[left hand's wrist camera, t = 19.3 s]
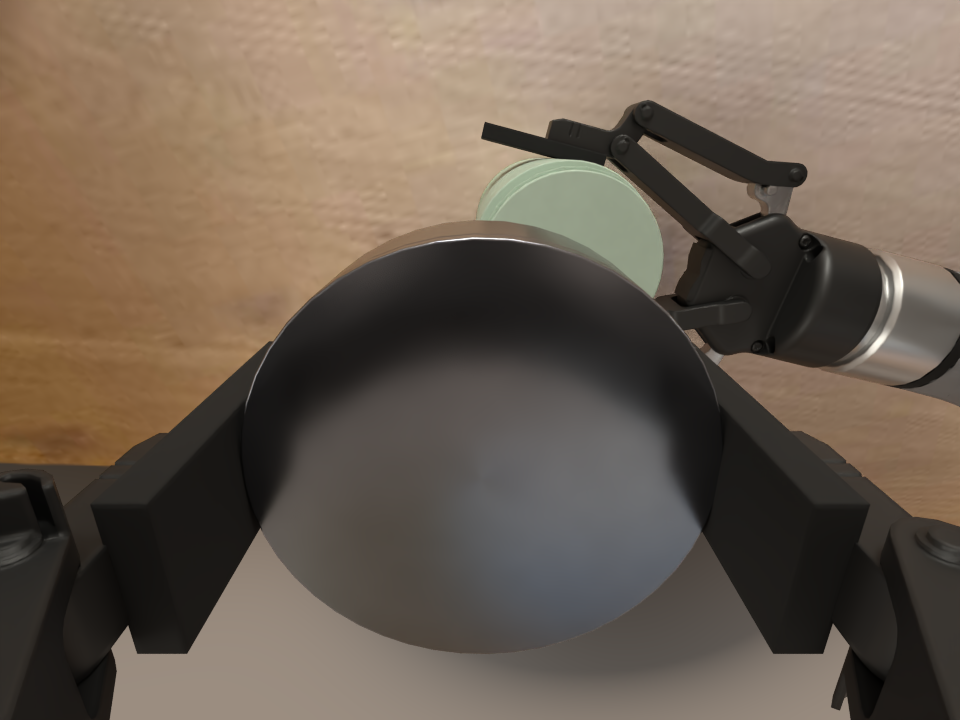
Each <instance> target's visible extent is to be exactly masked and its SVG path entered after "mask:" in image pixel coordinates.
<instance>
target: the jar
mask: <svg viewBox="0 0 960 720" xmlns="http://www.w3.org/2000/svg"><path fill="white" fill-rule="evenodd" d="M476 220H487V221H507V222H513V223H519V224H524V225H530V226H535V227H538V228H542V229H545V230H548V231H551V232H554V233H557V234H561V235H563V236H565V237H567V238H570V239H572V240H574V241H576V242H578V243H580V244H582V245H584V246H586V247H588V248H590V249H592V250H593V251H595V252H596V253H598V254H599V255H601V256H602V257H604V258H605V259H607V260H608V261H610V262H611V263H613V264H614V265H615V266H616V267H617V268H618V269H620V270H621V271H622V272H623V273H624V274H625V275H627V276H628V277H629V278H630V279H631V280H632V281H633V282H635V283H636V284H637V285H638V286H639V287H640V288H642V289H643V290H644V291H645V292H646V293H647V294H648V295H650V296H651V297H652V298H654V296H655V294H656V291H657V289H658V286H659V283H660V280H661V275H662V269H663V256H664V254H663V242H662V238H661V233H660V230H659V227H658V224H657V222H656V219H655V217H654V216H653V214H652V212H651V210H650V208H649V206H648V204H647V203H646V202H645V201H644V200H643V198H642V197H641V196H640V194H639V193H638V192H637V190H636V189H635V188H634V187H633V186H632V185H631V184H630V183H629V182H628V181H627V180H625V179H624V178H623V177H621V176H620V175H619V174H617V173H616V172H614V171H612V170H610V169H608V168H606V167H604V166H601V165H598V164H595V163H591V162H587V161H582V160H567V159H547V158H533V159H526V160H522V161H519V162H516V163H514V164H512V165H510V166H508V167H506V168H505V169H503V170H502V171H501V172H499V173H498V174H497V175H496V176H495V177H494V178H493V179H492V180H491V182H490V183H489V184H488V186H487V187H486V189H485V190H484V192H483V194H482V197H481V199H480V202H479V205H478V210H477V215H476Z"/></svg>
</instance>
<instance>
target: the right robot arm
mask: <svg viewBox="0 0 960 720" xmlns="http://www.w3.org/2000/svg"><path fill="white" fill-rule="evenodd" d="M642 135H645V136H647V137H649V138H651V139H653V140H654V141H656V142H658V143H660V144H662V145H664V146H666V147H668V148H670V149H672V150H674V151H676V152H678V153H680V154H682V155H684V156H686V157H688V158H690V159H692V160H694V161H696V162H698V163H700V164H702V165H704V166H706V167H708V168H710V169H712V170H714V171H715V172H717V173H719V174H721V175H723V176H725V177H727V178H730V179H732V180H735V181H738V182H742V183H748V186H747V193H748V195H749V197H751V198H752V199H755V200H757V201H758V202H759V203H760V205H761V212H760V213H757V214H754V215H752V216H749V217H747V218H744V219H741V220H739V221H736V222H734V223H731V224H728V223H727V222H726V221H725V220H724V219H723V218H721V217H720V216H718V215H716V214H715V213H714V212H712V211H711V210H710V209H709V208H708V207H707V206H706V205H705V204H704V203H702V202H701V201H700V200H699V199H698V198H697V197H696V196H695V195H694V194H693V193H691V192H690V191H689V190H688V189H687V188H686V187H685V186H684V185H683V184H682V183H680V182H679V181H678V180H677V179H676V178H675V177H674V176H673V175H672V174H671V173H669V172H668V171H667V170H666V169H665V168H664V167H663V166H662V165H661V164H659V163H658V162H657V161H656V160H655V159H654V158H653V157H652V156H651V155H650V154H648V153H647V152H646V151H645V150H644V149H643V148H642V147H641V146H640V145H639V144H637V142H638V141H639V140H640V138H641V137H642ZM481 139H483V140H487V141H491V142H495V143H498V144H502V145H506V146H510V147H513V148H517V149H521V150H525V151H528V152H532V153H536V154H540V155H543V156H547V157H551V158H555V159H567V160H582V161H587V162H591V163H595V164H598V165H601V166H604V164H605V160H606V158H607V159H608V160H609V161H610V162H611V163H612V164H613V165H615V166H616V167H617V168H618V169H619V170H620V171H621V172H622V173H624V174H625V175H626V176H627V177H628V178H629V179H630V180H632V181H633V182H634V183H635V184H636V185H637V186H638V187H639V188H641V189H642V190H643V191H644V192H645V193H646V194H647V195H648V196H650V197H651V198H652V199H653V200H654V201H655V202H656V203H658V204H659V205H660V206H661V207H662V208H663V209H664V210H665V211H667V212H668V213H669V214H670V215H671V216H672V217H673V218H674V219H676V220H677V221H678V222H679V223H680V224H681V225H682V226H683V228H684V229H685V230H686V231H687V232H689V233H690V234H691V235H692V236H693V237H694V238H695V239H696V240H698V242H697V243H694V242H693V245H692V248H691V250H690V253H689V257H688V265H687V269H686V271H685V272H684V274H683V275H682V277H681V278H680V280H679V282H678V284H677V287H676V289H675V293H676V294H671V295H665V296H660V297H657V298H656V299H654V300H655V301H656V302H657V303H659V304H660V305H661V306H662V307H663V308H664V309H665V310H666V311H667V312H668V313H669V314H670V315H671V316H672V318H673V319H674V320H675V321H676V322H677V324H678V325H679V326H680V327H681V328H682V329H683V330H689V329H695V330H696V331H697V333H698V334H699V336H700V337H701V338H702V340H703V341H704V342H705V345H704V346H703V347H702V348H700V350H701V351H702V352H703V353H704V354H706V355H707V356H708V357H709V358H710V359H711V360H712V361H713V362H714V363H716V364H717V365H718V364H719V363H720V361H721V360H722V358H723V356H724V355H733V354H737V353H745V352H747V353H753V354H757V355H761V356H765V357H769V358H773V359H777V360H781V361H785V362H790V363H794V364H798V365H802V366H806V367H812V368H819V369H821V370H823V371H827V372H831V373H835V374H839V375H844V376H848V377H852V378H856V379H861V380H865V381H869V382H874V383H878V384H882V385H887V386H891V387H895V388H900V389H904V390H908V391H912V392H915V393H919V394H923V395H927V396H930V397H934V398H938V399H941V400H944V401H947V402H950V403H952V404H955V405H957V406H959V407H960V272H956V271H953V270H950V269H947V268H944V267H941V266H940V265H936V264H932V263H928V262H925V261H921V260H917V259H913V258H909V257H906V256H902V255H898V254H894V253H890V252H887V251H883V250H879V249H868V248H866V247H864V246H862V245H859V244H856V243H852V242H848V241H845V240H841V239H837V238H833V237H829V236H826V235H822V234H818V233H814V232H811V231H807V230H803V229H801V228H799V227H797V226H796V225H795V224H794V223H793V221H792V220H791V219H790V218H789V217H788V216H786V213H787V209H788V205H789V202H790V198H791V194H792V190H793V187H798V186H800V185H801V184H802V183H803V182H804V181H805V180H806V177H807V169H806V167H805V166H804V165H803V164H800V163H789V162H776V161H767V160H765V159H763V158H761V157H759V156H757V155H755V154H753V153H751V152H749V151H747V150H745V149H744V148H742V147H740V146H738V145H736V144H734V143H732V142H730V141H728V140H726V139H724V138H722V137H720V136H718V135H717V134H715V133H713V132H711V131H709V130H707V129H705V128H703V127H701V126H699V125H697V124H695V123H693V122H692V121H690V120H688V119H686V118H684V117H682V116H680V115H678V114H676V113H674V112H672V111H670V110H668V109H667V108H665V107H663V106H661V105H659V104H657V103H655V102H653V101H650V100H646V101H642V102H639V103H636V104H633V105H631V106H629V107H628V108H627V109H626V110H625V112H624V115H623V117H622V118H621V120H620V121H619V122H618V124H617V125H616V126H615V127H614V128H613V129H612V130H610V131H608V130H604V129H600V128H596V127H593V126H589V125H585V124H581V123H578V122H574V121H571V120H567V119H557V120H552V121H550V122H549V126H548V130H547V134H546V137H545V138H543V137H539V136H535V135H531V134H528V133H524V132H520V131H517V130H513V129H509V128H505V127H502V126H498V125H494V124H491V123H487V122H485V124H484V128H483V132H482V137H481Z"/></svg>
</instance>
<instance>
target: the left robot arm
mask: <svg viewBox="0 0 960 720" xmlns="http://www.w3.org/2000/svg"><path fill="white" fill-rule="evenodd" d="M272 342H273V341H269V342H268V343H267V344H266V345H265V346H264V347H262V348H261V349H260V350H259V351H258V352H257V353H256V354H255V355H254V356H253V357H251V358H250V359H249V360H248V361H247V362H246V363H245V364H244V365H243V366H242V367H240V368H239V369H238V370H237V371H236V372H235V373H234V374H233V375H232V376H231V377H229V378H228V379H227V380H226V381H225V382H224V383H223V384H222V385H221V386H220V387H218V388H217V389H216V390H215V391H214V392H213V393H212V394H211V395H210V396H209V397H207V398H206V399H205V400H204V401H203V402H202V403H201V404H200V405H199V406H198V407H196V408H195V409H194V410H193V411H192V412H191V413H190V414H189V415H188V416H187V417H185V418H184V419H183V420H182V421H181V422H180V423H179V424H178V425H177V426H176V427H174V428H173V429H172V430H171V431H170V432H169V433H159V434H157V435H155V436H153V437H151V438H149V439H147V440H145V441H143V442H141V443H139V444H137V445H136V446H134V447H132V448H131V449H130V450H129V451H128V452H127V453H125V454H124V455H123V456H122V457H121V458H120V459H118V460H117V461H116V462H115V465H111V466H110V467H109V468H108V469H107V470H106V471H104V472H103V473H102V474H101V475H100V478H99V479H95V480H94V481H93V482H91V483H90V484H89V485H88V486H87V487H86V488H85V489H83V490H82V491H81V492H80V493H79V494H77V495H76V496H75V497H74V498H73V499H72V500H71V501H69V502H68V503H67V504H66V505H65V506H63V505H62V503H61V499H60V496H59V493H58V490H57V488H56V485H55V482H54V479H53V476H52V475H51V474H49V473H47V472H46V471H44V470H35V469H21V470H13V471H5V472H1V473H0V720H110V713H111V706H112V699H113V692H114V686H115V679H116V672H117V670H116V664H115V659H114V656H113V653H112V650H111V647H112V646H113V645H114V643H115V642H116V641H117V639H118V638H119V637H120V635H121V634H122V633H123V631H124V630H125V629H126V627H127V626H129V629H130V632H131V635H132V638H133V642H134V645H135V648H136V651H137V654H187V653H188V651H189V650H190V648H191V646H192V644H193V643H194V641H195V639H196V637H197V636H198V634H199V632H200V631H201V629H202V627H203V625H204V624H205V622H206V620H207V619H208V617H209V615H210V613H211V612H212V610H213V608H214V606H215V605H216V603H217V601H218V600H219V598H220V596H221V594H222V593H223V591H224V589H225V588H226V586H227V584H228V582H229V581H230V579H231V577H232V575H233V574H234V572H235V570H236V569H237V567H238V565H239V563H240V562H241V560H242V558H243V557H244V555H245V553H246V551H247V550H248V548H249V546H250V545H251V543H252V541H253V539H254V538H255V536H256V534H257V533H258V531H259V529H260V526H259V524H258V521H257V519H256V517H255V515H254V513H253V510H252V507H251V504H250V500H249V497H248V494H247V490H246V487H245V482H244V475H243V468H242V461H241V429H242V423H243V417H244V410H245V404H246V400H247V397H248V394H249V391H250V388H251V385H252V382H253V379H254V376H255V373H256V371H257V370H258V368H259V366H260V364H261V362H262V360H263V358H264V356H265V354H266V352H267V350H268V348H269V347H270V345H271V344H272ZM692 344H693V343H692ZM693 345H694V347H695V349H696V350H697V352H698V354H699V355H700V357H701V359H702V360H703V362H704V364H705V367H706V369H707V372H708V374H709V376H710V379H711V381H712V384H713V386H714V389H715V392H716V396H717V401H718V405H719V409H720V413H721V418H722V431H723V445H724V447H723V454H722V460H721V466H720V471H719V476H718V481H717V487H716V492H715V497H714V502H713V506H712V510H711V512H710V515H709V517H708V520H707V522H706V525H705V527H704V528H703V530H702V532H703V534H704V535H705V537H706V539H707V540H708V542H709V544H710V546H711V547H712V549H713V551H714V552H715V554H716V556H717V558H718V559H719V561H720V563H721V565H722V566H723V568H724V570H725V571H726V573H727V575H728V577H729V578H730V580H731V582H732V584H733V585H734V587H735V589H736V590H737V592H738V594H739V596H740V597H741V599H742V601H743V602H744V604H745V606H746V608H747V609H748V611H749V613H750V614H751V616H752V618H753V620H754V621H755V623H756V625H757V626H758V628H759V630H760V632H761V633H762V635H763V637H764V639H765V640H766V642H767V644H768V645H769V647H770V649H771V651H772V652H773V654H823V652H824V649H825V646H826V643H827V640H828V637H829V634H830V630H831V627H832V624H834V625H835V626H836V628H837V629H838V630H839V632H840V633H841V635H842V636H843V637H844V639H845V640H846V641H847V643H848V644H849V645H850V647H849V650H848V653H847V656H846V659H845V662H844V665H843V668H842V671H841V674H840V677H839V680H838V682H837V685H836V689H835V691H834V694H833V699H832V705H831V707H832V708H834V709H837V710H840V709H841V706H842V703H843V700H844V698H845V697H847V698H848V704H849V711H850V718H851V720H960V527H959V526H955V525H952V524H949V523H946V522H942V521H939V520H934V519H927V518H920V517H912V516H911V515H910V514H909V513H907V512H906V511H905V510H904V509H903V508H901V507H900V506H899V505H898V504H897V503H896V502H894V501H893V500H892V499H891V498H890V497H888V496H887V495H886V494H885V493H884V492H883V491H881V490H880V489H879V488H878V487H877V486H876V485H874V484H873V483H872V482H871V481H870V480H868V479H867V478H866V477H862V476H861V473H860V472H859V471H858V470H857V469H856V468H854V467H853V466H852V465H851V464H846V460H845V459H844V458H843V457H841V456H840V455H839V454H838V453H837V452H836V451H834V450H833V449H832V448H831V447H830V446H828V445H827V444H825V443H823V442H821V441H819V440H817V439H815V438H813V437H811V436H809V435H808V434H806V433H804V432H802V431H789V430H788V429H787V428H786V427H785V426H784V425H783V424H782V423H780V422H779V421H778V420H777V419H776V418H775V417H774V416H773V415H772V414H771V413H769V412H768V411H767V410H766V409H765V408H764V407H763V406H762V405H761V404H760V403H758V402H757V401H756V400H755V399H754V398H753V397H752V396H751V395H750V394H749V393H747V392H746V391H745V390H744V389H743V388H742V387H741V386H740V385H739V384H738V383H736V382H735V381H734V380H733V379H732V378H731V377H730V376H729V375H728V374H727V373H725V372H724V371H723V370H722V369H721V368H720V367H719V366H718V365H717V364H716V363H714V362H713V361H712V360H711V359H710V358H709V357H708V356H707V355H706V354H704V353H703V352H702V351H701V350H700V349H699V348H698V347H697V346H696V345H695V344H693Z"/></svg>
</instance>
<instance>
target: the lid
mask: <svg viewBox="0 0 960 720" xmlns="http://www.w3.org/2000/svg"><path fill="white" fill-rule="evenodd" d="M723 447H724V445H723V431H722V418H721V413H720V409H719V405H718V401H717V396H716V392H715V389H714V386H713V384H712V381H711V379H710V376H709V374H708V372H707V369H706V367H705V364H704V362H703V360H702V359H701V357H700V355H699V354H698V352H697V350H696V349H695V347H694V345H693V344H692V342H691V340H690V339H689V337H688V335H687V334H686V333H685V332H684V331H683V329H682V328H681V327H680V326H679V325H678V324H677V322H676V321H675V320H674V319H673V318H672V316H671V315H670V314H669V313H668V312H667V311H666V310H665V309H664V308H663V307H662V306H661V305H660V304H659V303H657V302H656V301H655V300H654V299H653V298H652V297H651V296H650V295H648V294H647V293H646V292H645V291H644V290H643V289H642V288H640V287H639V286H638V285H637V284H636V283H635V282H633V281H632V280H631V279H630V278H629V277H628V276H627V275H625V274H624V273H623V272H622V271H621V270H620V269H618V268H617V267H616V266H615V265H614V264H613V263H611V262H610V261H608V260H607V259H605V258H604V257H602V256H601V255H599V254H598V253H596V252H595V251H593V250H592V249H590V248H588V247H586V246H584V245H582V244H580V243H578V242H576V241H574V240H572V239H570V238H567V237H565V236H563V235H561V234H557V233H554V232H551V231H548V230H545V229H542V228H538V227H535V226H530V225H524V224H519V223H513V222H507V221H487V220H471V221H461V222H450V223H443V224H439V225H435V226H431V227H426V228H422V229H418V230H415V231H412V232H410V233H407V234H404V235H402V236H399V237H397V238H394V239H391V240H389V241H387V242H385V243H384V244H382V245H380V246H378V247H376V248H375V249H373V250H371V251H369V252H367V253H366V254H364V255H363V256H361V257H360V258H359V259H357V260H356V261H355V262H353V263H352V264H351V265H349V266H348V267H347V268H345V269H344V270H343V271H342V272H340V273H339V274H338V275H337V276H336V277H335V278H334V279H332V280H331V281H330V282H329V283H328V284H327V285H325V286H324V287H323V288H322V289H321V290H320V291H319V292H317V293H316V294H315V295H314V296H313V297H312V298H311V299H310V300H309V301H308V302H307V303H306V304H305V305H304V306H303V307H302V308H301V309H300V310H299V311H298V312H297V313H296V314H295V315H294V316H293V317H292V318H291V319H290V320H289V321H288V322H287V323H286V325H285V326H284V327H283V329H282V330H281V331H280V333H279V334H278V336H277V337H276V338H275V340H274V341H273V342H272V344H271V345H270V347H269V348H268V350H267V352H266V354H265V356H264V358H263V360H262V362H261V364H260V366H259V368H258V370H257V371H256V373H255V376H254V379H253V382H252V385H251V388H250V391H249V394H248V397H247V400H246V404H245V410H244V417H243V423H242V429H241V461H242V468H243V475H244V482H245V487H246V490H247V494H248V497H249V500H250V504H251V507H252V510H253V513H254V515H255V517H256V519H257V521H258V524H259V526H260V528H261V530H262V532H263V534H264V536H265V538H266V539H267V541H268V542H269V544H270V546H271V547H272V549H273V550H274V552H275V553H276V555H277V556H278V558H279V559H280V560H281V561H282V563H283V564H284V565H285V566H286V567H287V569H288V570H289V571H290V572H291V573H292V575H293V576H294V577H295V578H296V579H297V580H298V581H299V582H300V583H301V584H302V585H303V586H304V587H306V588H307V589H308V590H309V591H310V592H311V593H312V594H313V595H314V596H315V597H317V598H318V599H319V600H321V601H322V602H323V603H325V604H326V605H327V606H329V607H330V608H332V609H333V610H334V611H336V612H337V613H339V614H341V615H342V616H344V617H346V618H348V619H349V620H351V621H353V622H354V623H356V624H358V625H360V626H362V627H364V628H367V629H369V630H371V631H373V632H376V633H378V634H380V635H382V636H385V637H388V638H391V639H394V640H397V641H400V642H403V643H406V644H410V645H414V646H419V647H423V648H428V649H432V650H438V651H446V652H454V653H468V654H496V653H510V652H519V651H525V650H531V649H537V648H542V647H546V646H550V645H553V644H557V643H561V642H564V641H568V640H570V639H573V638H576V637H578V636H581V635H583V634H586V633H589V632H591V631H593V630H595V629H597V628H599V627H601V626H603V625H605V624H607V623H609V622H611V621H613V620H615V619H617V618H618V617H620V616H622V615H623V614H625V613H626V612H628V611H629V610H631V609H632V608H634V607H635V606H637V605H638V604H640V603H641V602H642V601H643V600H644V599H646V598H647V597H648V596H649V595H651V594H652V593H653V592H654V591H655V590H657V589H658V588H659V587H660V586H661V585H662V584H663V583H664V582H665V581H666V580H667V579H668V578H669V577H670V576H671V574H672V573H673V572H674V571H675V570H676V569H677V568H678V567H679V565H680V564H681V563H682V561H683V560H684V559H685V557H686V556H687V555H688V553H689V552H690V551H691V549H692V548H693V546H694V544H695V543H696V541H697V539H698V537H699V535H700V534H701V532H702V530H703V528H704V527H705V525H706V522H707V520H708V517H709V515H710V512H711V510H712V506H713V502H714V497H715V492H716V487H717V481H718V476H719V471H720V466H721V460H722V454H723Z"/></svg>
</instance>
